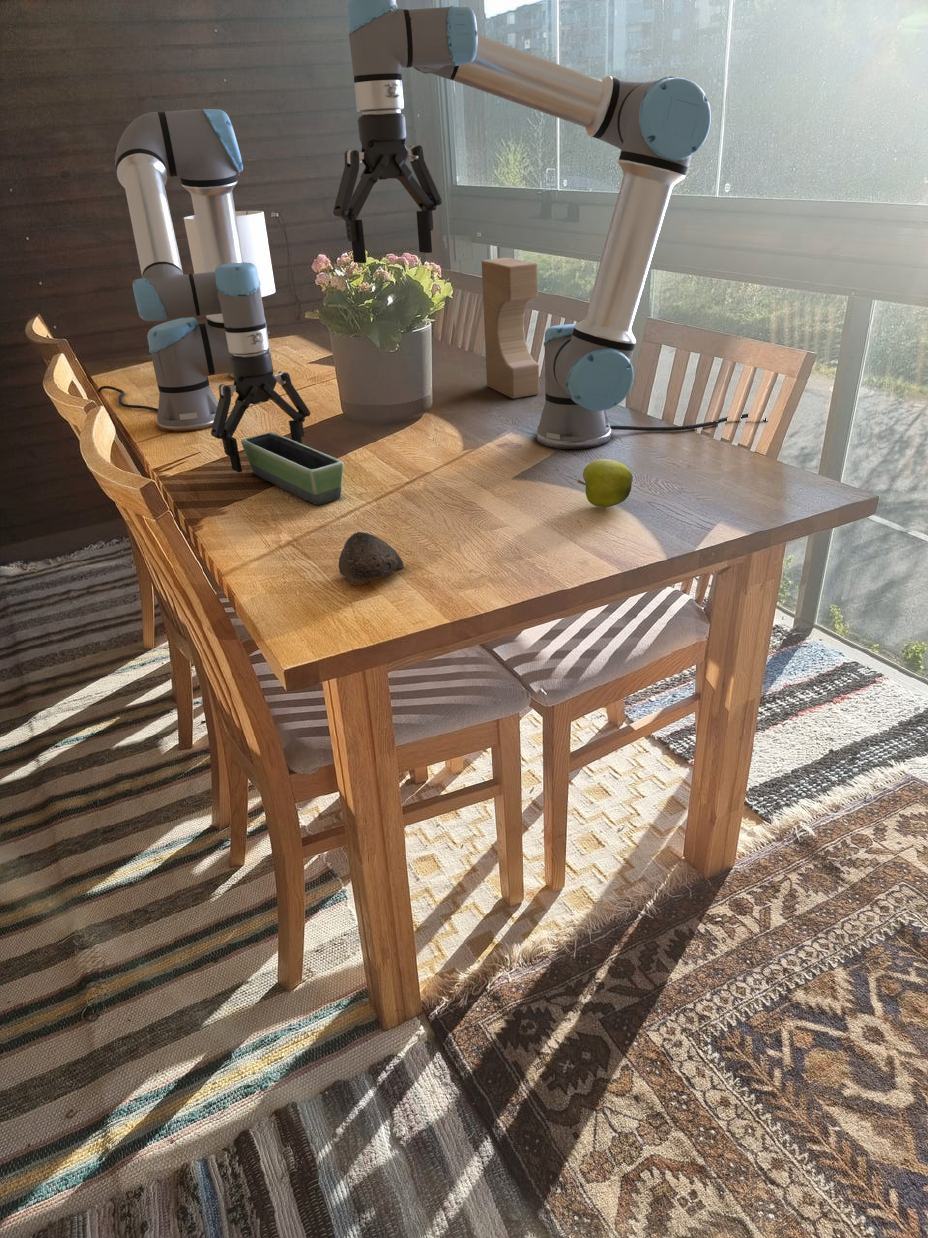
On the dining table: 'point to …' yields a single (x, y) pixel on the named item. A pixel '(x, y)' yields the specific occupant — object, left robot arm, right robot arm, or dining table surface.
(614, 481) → the apple
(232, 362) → the left robot arm
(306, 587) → the dining table surface
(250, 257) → the lamp
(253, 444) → the planter
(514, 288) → the decorative block
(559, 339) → the right robot arm
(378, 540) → the stone
